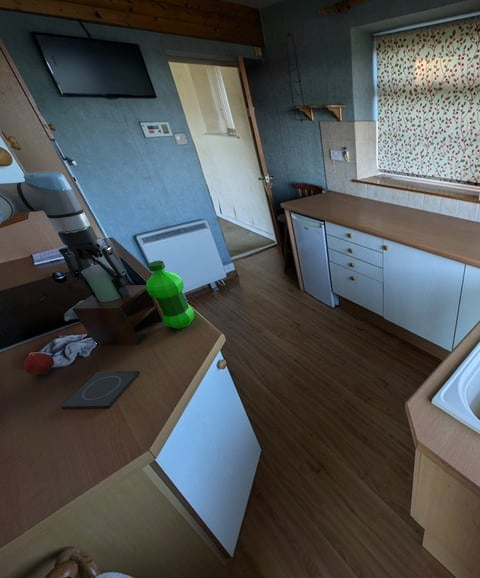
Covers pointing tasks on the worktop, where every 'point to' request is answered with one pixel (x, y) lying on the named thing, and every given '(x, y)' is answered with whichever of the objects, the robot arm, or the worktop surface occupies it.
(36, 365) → the red rounded lump
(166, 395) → the worktop surface
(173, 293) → the plastic bottle
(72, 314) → the packaged food
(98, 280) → the jar
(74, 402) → the hob
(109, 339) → the shelf rack
